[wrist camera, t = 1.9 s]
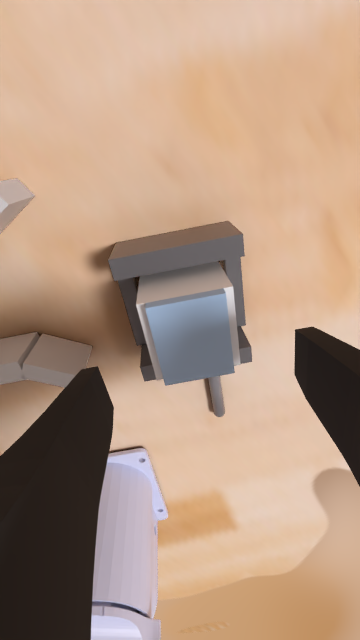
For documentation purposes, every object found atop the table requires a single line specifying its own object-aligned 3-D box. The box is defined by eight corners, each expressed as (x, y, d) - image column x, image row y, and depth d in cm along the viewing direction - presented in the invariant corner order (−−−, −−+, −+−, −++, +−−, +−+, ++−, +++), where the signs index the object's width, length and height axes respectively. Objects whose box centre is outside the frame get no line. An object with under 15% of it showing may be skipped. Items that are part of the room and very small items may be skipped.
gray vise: (249, 405, 22) (262, 439, 20) (161, 421, 22) (162, 456, 20) (234, 219, 16) (249, 232, 13) (110, 244, 16) (101, 261, 13)
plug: (220, 315, 18) (243, 371, 14) (156, 327, 19) (156, 387, 14) (212, 251, 17) (236, 291, 12) (141, 265, 17) (135, 310, 12)
